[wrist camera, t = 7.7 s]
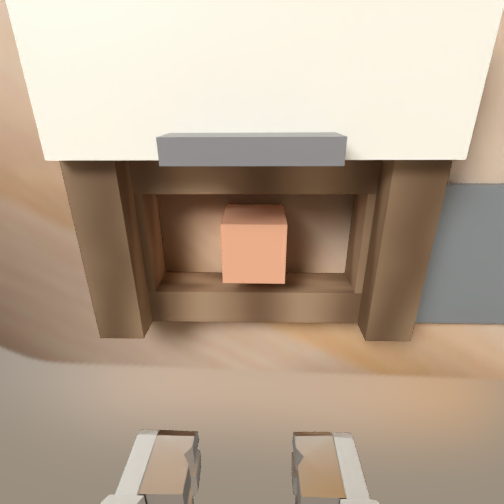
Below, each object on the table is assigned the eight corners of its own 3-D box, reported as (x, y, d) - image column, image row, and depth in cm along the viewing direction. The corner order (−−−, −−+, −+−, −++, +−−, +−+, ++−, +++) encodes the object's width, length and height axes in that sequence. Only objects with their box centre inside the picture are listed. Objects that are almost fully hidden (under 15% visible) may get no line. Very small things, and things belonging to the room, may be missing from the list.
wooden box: (127, 298, 27) (100, 337, 23) (87, 80, 21) (38, 73, 16) (385, 301, 27) (410, 341, 22) (425, 77, 21) (473, 70, 16)
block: (228, 254, 26) (222, 282, 22) (227, 203, 24) (220, 224, 20) (280, 254, 26) (284, 283, 22) (282, 204, 24) (287, 224, 20)
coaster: (406, 316, 28) (410, 322, 27) (435, 183, 23) (441, 186, 22) (543, 318, 27) (551, 324, 27) (599, 183, 23) (610, 186, 22)
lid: (56, 157, 18) (13, 168, 15) (5, -60, 14) (-66, -106, 11) (455, 156, 17) (497, 168, 14) (507, -70, 14) (579, -120, 11)
